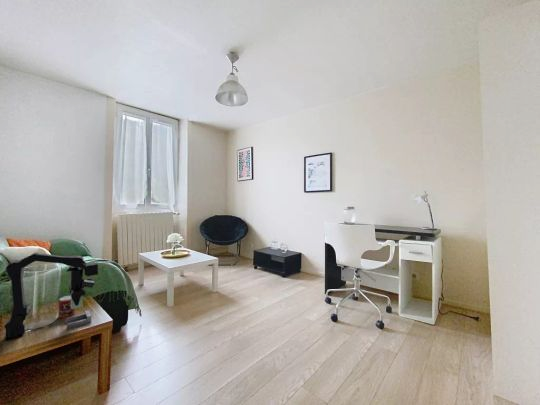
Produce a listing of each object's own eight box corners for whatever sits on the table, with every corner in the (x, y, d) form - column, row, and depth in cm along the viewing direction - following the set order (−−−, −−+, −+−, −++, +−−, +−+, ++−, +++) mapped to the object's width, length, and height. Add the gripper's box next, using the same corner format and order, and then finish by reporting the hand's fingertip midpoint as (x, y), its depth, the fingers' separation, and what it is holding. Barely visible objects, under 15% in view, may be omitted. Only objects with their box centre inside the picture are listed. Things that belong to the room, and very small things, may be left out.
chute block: (71, 309, 136) (71, 297, 136) (70, 306, 140) (70, 294, 140) (82, 306, 140) (82, 294, 140) (81, 303, 143) (81, 292, 143)
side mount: (66, 329, 133) (67, 322, 133) (65, 322, 140) (65, 315, 140) (91, 322, 141) (91, 315, 141) (88, 316, 148) (88, 310, 148)
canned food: (56, 319, 144) (56, 301, 144) (62, 313, 151) (62, 296, 151) (72, 317, 147) (72, 299, 147) (77, 311, 154) (77, 294, 154)
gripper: (96, 278, 139) (95, 305, 139) (91, 271, 152) (90, 295, 152) (71, 282, 131) (71, 311, 131) (68, 274, 144) (68, 300, 144)
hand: (76, 304), depth 140 cm, fingers closed on chute block, 5 cm apart
